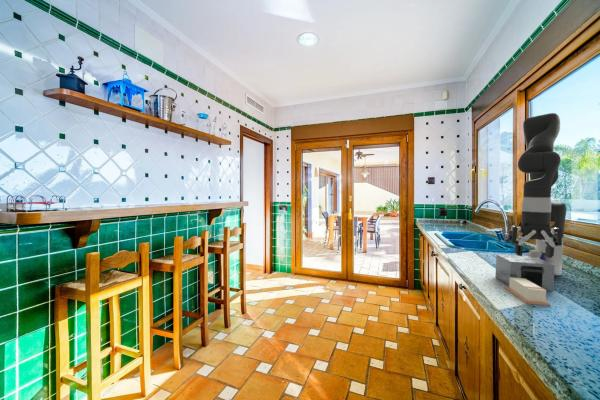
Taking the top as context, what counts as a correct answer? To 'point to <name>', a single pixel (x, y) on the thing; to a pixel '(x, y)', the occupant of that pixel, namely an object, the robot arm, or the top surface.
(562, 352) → the top surface
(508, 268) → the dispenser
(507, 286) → the tile
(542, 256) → the energy drink
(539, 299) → the cream box
